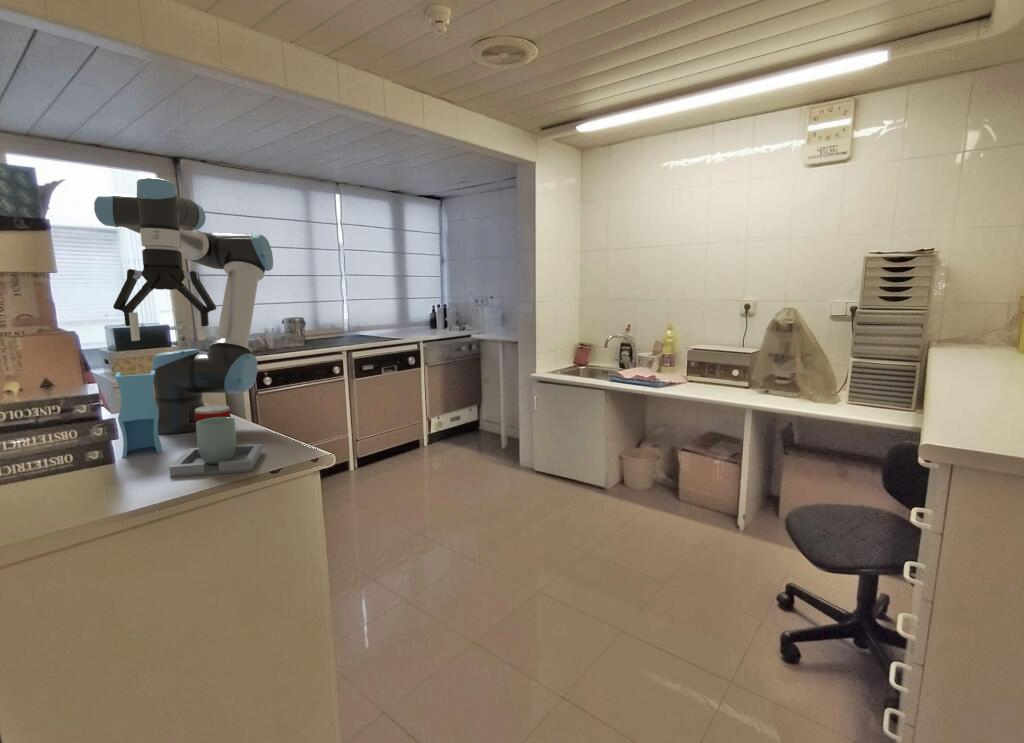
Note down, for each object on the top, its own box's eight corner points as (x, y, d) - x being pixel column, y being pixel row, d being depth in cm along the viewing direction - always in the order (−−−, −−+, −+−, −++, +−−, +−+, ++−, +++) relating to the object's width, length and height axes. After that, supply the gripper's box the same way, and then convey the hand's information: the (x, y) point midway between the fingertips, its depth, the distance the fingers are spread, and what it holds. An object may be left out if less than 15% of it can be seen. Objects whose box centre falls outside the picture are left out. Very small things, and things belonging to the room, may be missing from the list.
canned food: (217, 455, 124) (214, 412, 122) (189, 452, 126) (186, 410, 124) (239, 446, 132) (237, 405, 130) (213, 444, 133) (210, 404, 131)
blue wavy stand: (162, 444, 132) (155, 370, 129) (161, 452, 125) (154, 374, 122) (124, 449, 127) (116, 372, 124) (122, 457, 121) (113, 376, 118)
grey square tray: (190, 457, 122) (189, 448, 121) (262, 452, 126) (261, 443, 126) (170, 477, 108) (169, 467, 108) (251, 471, 113) (250, 461, 113)
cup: (210, 469, 112) (207, 426, 111) (192, 463, 116) (189, 421, 115) (244, 460, 119) (241, 419, 117) (226, 454, 123) (223, 415, 121)
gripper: (88, 244, 108) (98, 342, 111) (218, 250, 116) (224, 341, 119) (105, 248, 115) (114, 339, 118) (226, 252, 123) (231, 338, 126)
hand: (169, 340), depth 118 cm, fingers open, 13 cm apart
